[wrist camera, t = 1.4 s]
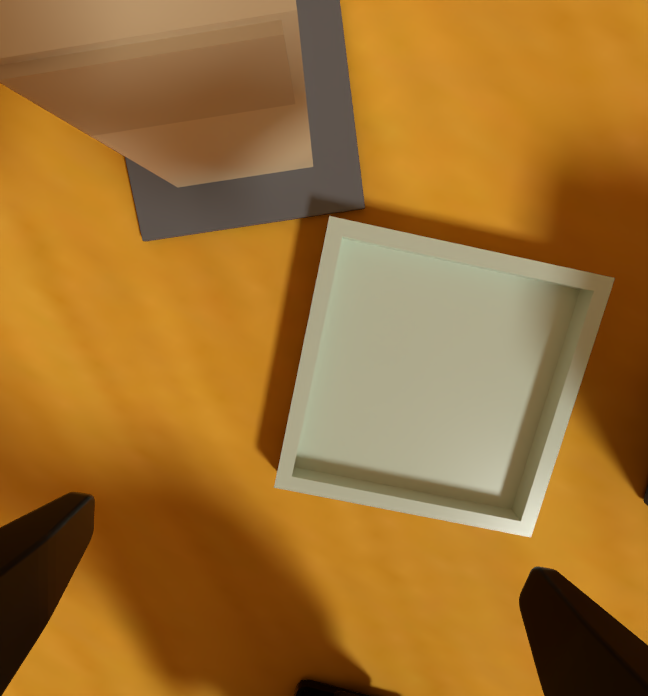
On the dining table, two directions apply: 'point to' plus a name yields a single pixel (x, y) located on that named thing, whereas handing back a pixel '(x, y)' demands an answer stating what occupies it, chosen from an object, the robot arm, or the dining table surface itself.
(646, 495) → the box
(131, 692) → the dining table surface
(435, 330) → the tray
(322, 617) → the dining table surface
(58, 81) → the carton
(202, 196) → the mat
